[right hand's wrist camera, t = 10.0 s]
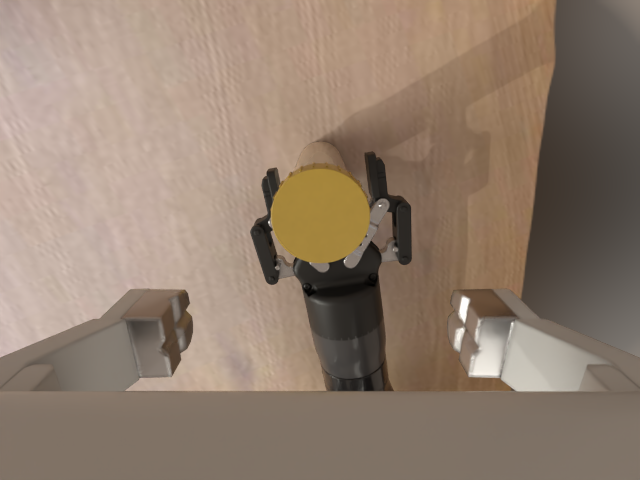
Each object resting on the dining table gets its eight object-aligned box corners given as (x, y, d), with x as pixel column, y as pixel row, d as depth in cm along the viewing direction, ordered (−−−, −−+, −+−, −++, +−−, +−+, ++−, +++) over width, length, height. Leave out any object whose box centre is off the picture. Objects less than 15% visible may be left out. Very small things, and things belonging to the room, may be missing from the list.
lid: (379, 175, 20) (385, 182, 18) (352, 260, 22) (354, 273, 20) (284, 150, 19) (281, 154, 17) (265, 240, 21) (260, 252, 19)
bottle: (347, 147, 36) (372, 186, 18) (335, 190, 37) (348, 262, 20) (304, 136, 35) (289, 164, 18) (294, 179, 37) (271, 243, 20)
